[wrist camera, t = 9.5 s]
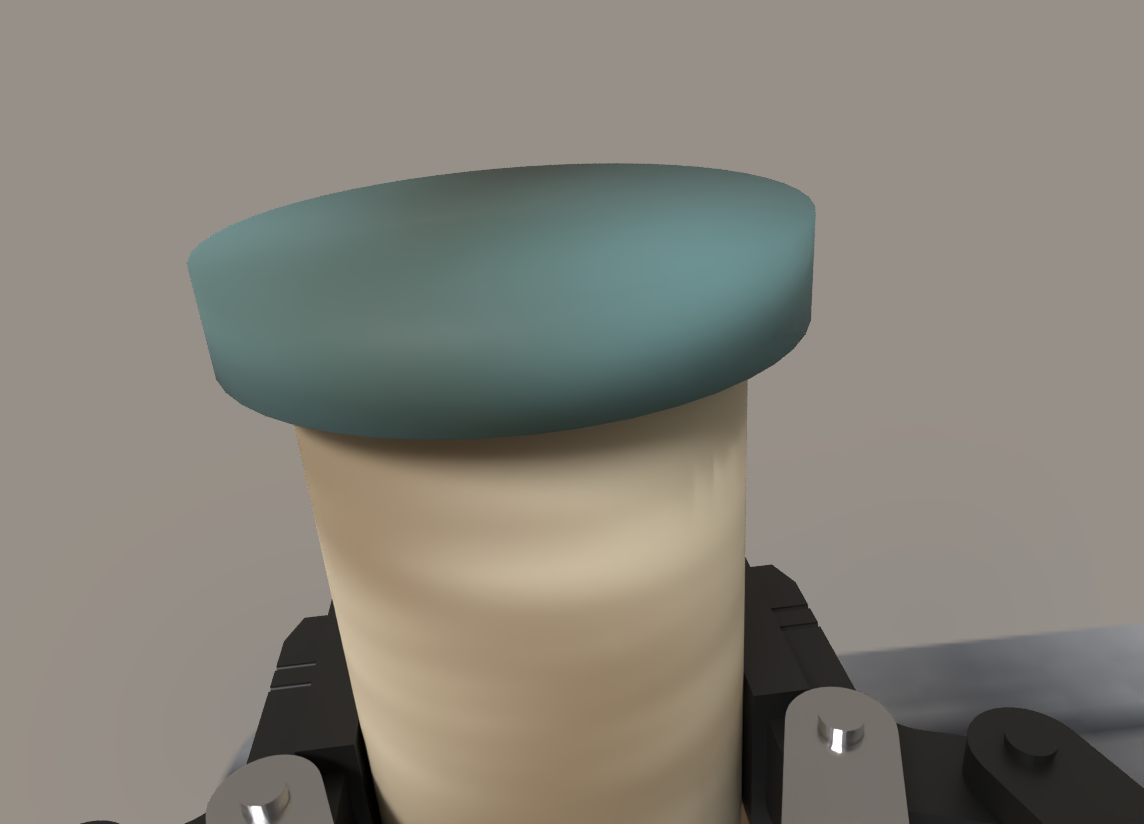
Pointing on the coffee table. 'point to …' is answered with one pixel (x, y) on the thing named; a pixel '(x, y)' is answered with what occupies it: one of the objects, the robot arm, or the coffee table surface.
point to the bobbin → (527, 467)
